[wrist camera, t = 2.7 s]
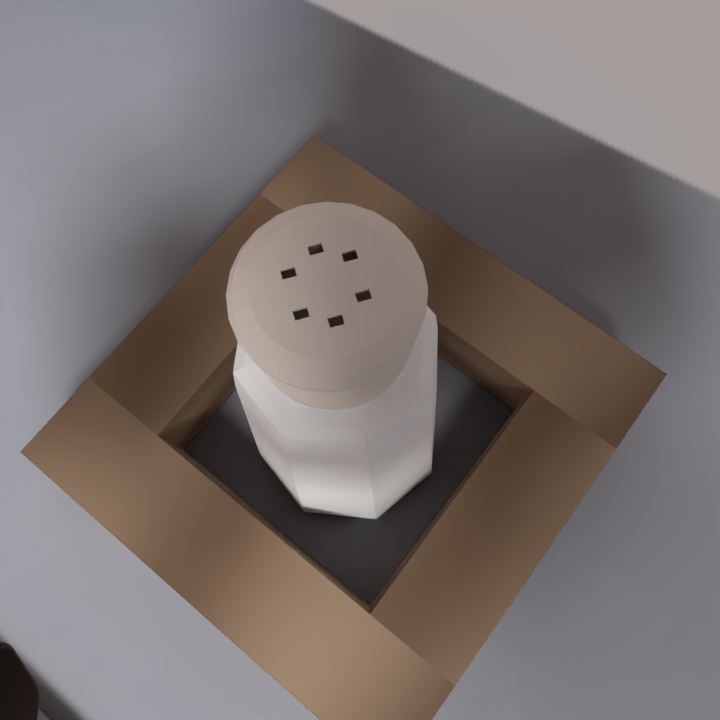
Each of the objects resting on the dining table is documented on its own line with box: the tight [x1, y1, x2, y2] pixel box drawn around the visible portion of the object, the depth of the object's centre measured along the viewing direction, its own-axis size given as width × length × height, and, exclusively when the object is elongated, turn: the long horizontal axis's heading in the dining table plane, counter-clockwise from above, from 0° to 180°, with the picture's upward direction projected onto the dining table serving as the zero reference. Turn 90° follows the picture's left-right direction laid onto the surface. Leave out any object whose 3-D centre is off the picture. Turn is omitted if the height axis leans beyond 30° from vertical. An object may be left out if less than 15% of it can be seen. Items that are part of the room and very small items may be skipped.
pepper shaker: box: [226, 202, 438, 519], centre depth 14 cm, size 5×5×11 cm
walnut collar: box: [21, 135, 666, 720], centre depth 18 cm, size 12×12×2 cm
